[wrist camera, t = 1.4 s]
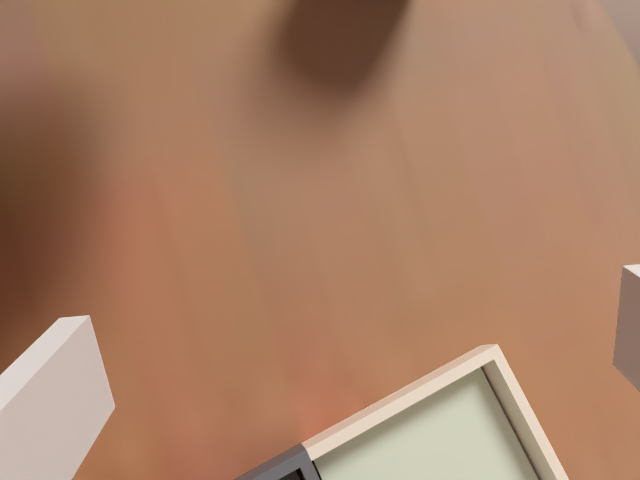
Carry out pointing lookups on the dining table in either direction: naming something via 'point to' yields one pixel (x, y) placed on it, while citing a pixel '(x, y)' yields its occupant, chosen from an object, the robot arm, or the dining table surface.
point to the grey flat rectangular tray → (432, 432)
